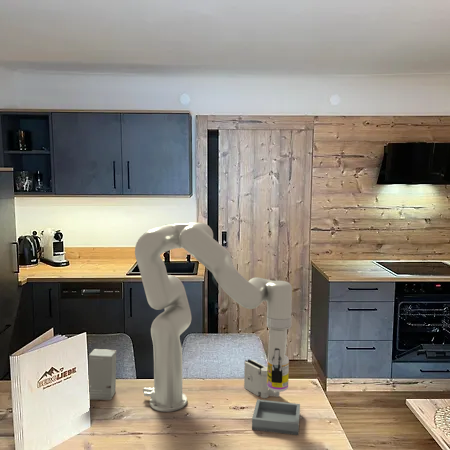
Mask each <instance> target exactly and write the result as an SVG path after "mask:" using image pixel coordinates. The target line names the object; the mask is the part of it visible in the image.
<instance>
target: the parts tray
mask: <svg viewBox="0 0 450 450" xmlns="http://www.w3.org/2000/svg"><path fill="white" fill-rule="evenodd" d="M300 413H301V404H300V403H295V402H283V401H276V400H266V399H259V398H258V399H256V402H255V406H254V410H253V414H252V418H251V430H252V431H260V432H268V433H276V434H285V435H292V436H293V435H294V436H299V431H300V430H299V429H300V428H299V427H300V415H301V414H300Z"/></svg>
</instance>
